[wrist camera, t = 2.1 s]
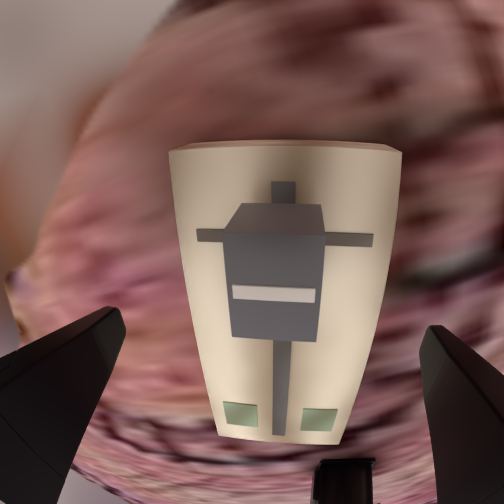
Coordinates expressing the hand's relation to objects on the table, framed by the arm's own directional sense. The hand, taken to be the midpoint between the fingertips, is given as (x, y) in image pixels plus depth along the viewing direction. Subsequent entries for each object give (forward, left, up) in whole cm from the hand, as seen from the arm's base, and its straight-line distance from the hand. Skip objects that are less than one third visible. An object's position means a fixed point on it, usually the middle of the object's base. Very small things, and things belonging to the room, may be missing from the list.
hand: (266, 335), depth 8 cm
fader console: (0, +7, -9) cm, 12 cm away
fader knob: (0, 0, -6) cm, 6 cm away
